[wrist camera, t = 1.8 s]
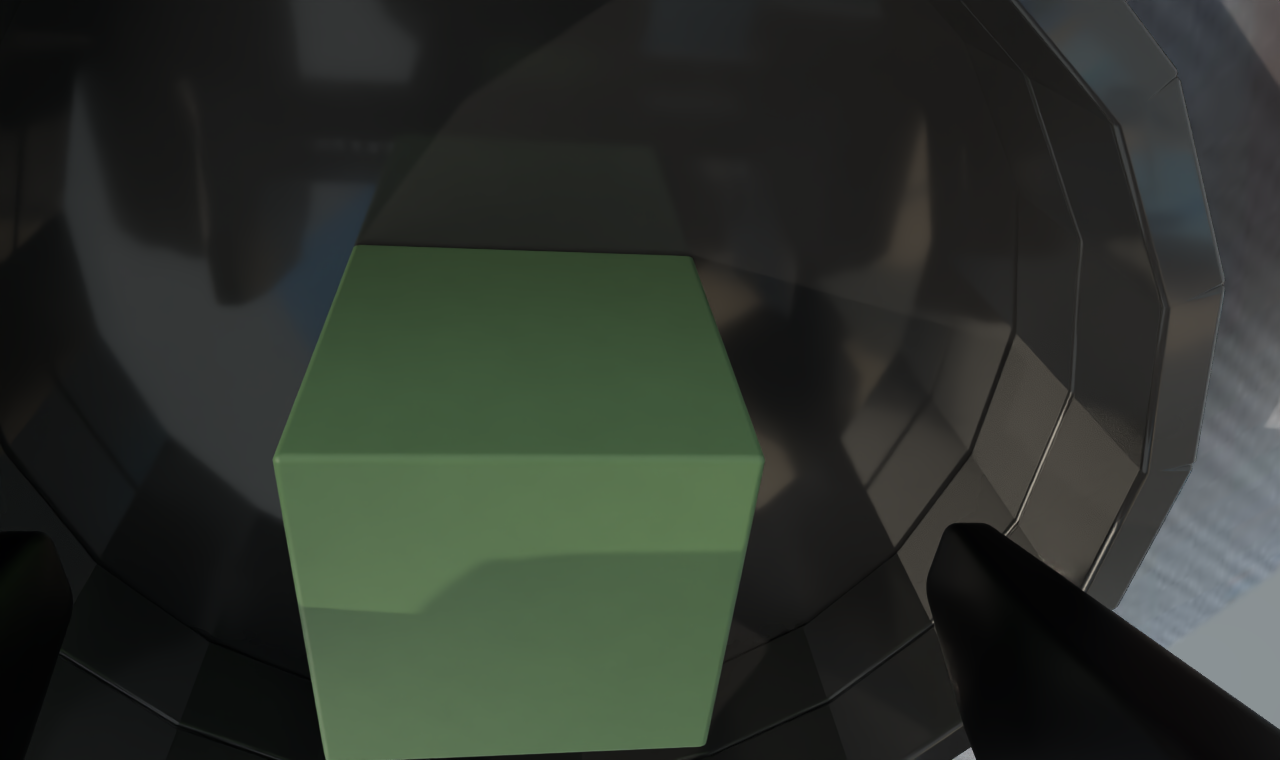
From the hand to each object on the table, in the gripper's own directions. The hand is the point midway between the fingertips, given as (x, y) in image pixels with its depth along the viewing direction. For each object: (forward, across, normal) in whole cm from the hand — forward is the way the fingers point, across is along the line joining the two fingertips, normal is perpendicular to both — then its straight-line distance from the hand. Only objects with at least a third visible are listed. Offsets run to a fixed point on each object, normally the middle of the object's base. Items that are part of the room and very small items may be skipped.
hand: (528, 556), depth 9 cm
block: (+3, 0, 0) cm, 3 cm away
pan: (+4, 0, 0) cm, 4 cm away
